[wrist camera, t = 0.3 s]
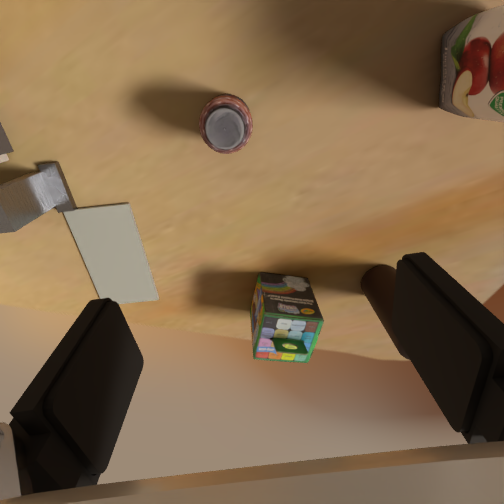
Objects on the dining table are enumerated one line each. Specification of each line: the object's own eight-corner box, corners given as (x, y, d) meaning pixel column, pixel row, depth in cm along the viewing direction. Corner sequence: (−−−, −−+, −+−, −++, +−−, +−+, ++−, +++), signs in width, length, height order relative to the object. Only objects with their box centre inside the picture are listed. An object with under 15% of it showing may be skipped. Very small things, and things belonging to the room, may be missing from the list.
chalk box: (249, 311, 56) (251, 378, 43) (258, 270, 52) (264, 330, 39) (297, 317, 57) (313, 384, 44) (310, 277, 53) (332, 338, 40)
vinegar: (405, 281, 54) (483, 375, 36) (371, 302, 56) (431, 399, 38) (387, 257, 51) (462, 344, 34) (352, 279, 53) (407, 372, 36)
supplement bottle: (197, 120, 40) (182, 130, 30) (226, 82, 38) (220, 80, 28) (230, 151, 42) (227, 170, 33) (260, 117, 40) (265, 127, 31)
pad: (64, 209, 46) (62, 211, 45) (129, 202, 46) (128, 204, 45) (104, 303, 54) (103, 305, 54) (159, 297, 54) (158, 300, 54)
